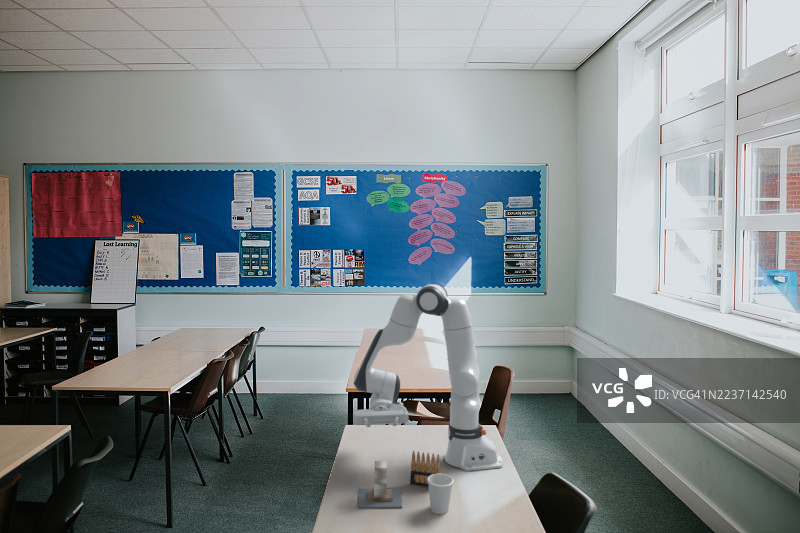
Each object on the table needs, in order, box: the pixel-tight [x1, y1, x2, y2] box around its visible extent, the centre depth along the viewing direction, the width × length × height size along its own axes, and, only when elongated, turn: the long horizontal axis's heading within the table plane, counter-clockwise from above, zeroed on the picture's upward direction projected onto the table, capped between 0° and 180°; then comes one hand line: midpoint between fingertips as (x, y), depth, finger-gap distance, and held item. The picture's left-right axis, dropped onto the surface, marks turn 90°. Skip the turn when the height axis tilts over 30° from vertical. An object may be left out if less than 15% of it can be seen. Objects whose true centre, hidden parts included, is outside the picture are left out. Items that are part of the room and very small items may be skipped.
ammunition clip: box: [409, 450, 441, 488], centre depth 181 cm, size 11×2×12 cm, turn 75°
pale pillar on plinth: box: [368, 460, 393, 502], centre depth 172 cm, size 8×6×11 cm
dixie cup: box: [427, 473, 454, 515], centre depth 166 cm, size 8×8×10 cm
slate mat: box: [358, 487, 403, 510], centre depth 172 cm, size 14×12×1 cm
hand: (381, 424), depth 185 cm, fingers open, 8 cm apart
